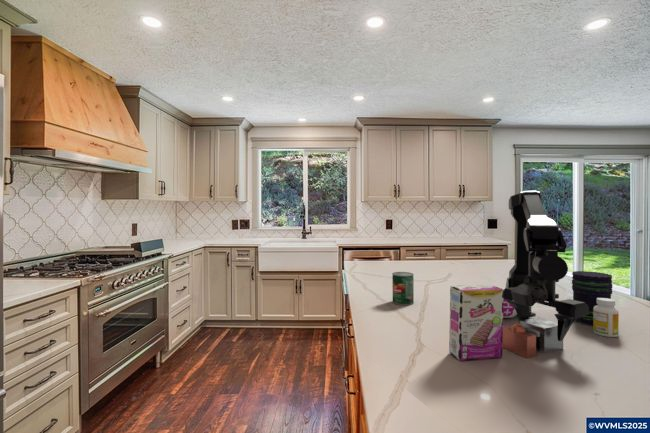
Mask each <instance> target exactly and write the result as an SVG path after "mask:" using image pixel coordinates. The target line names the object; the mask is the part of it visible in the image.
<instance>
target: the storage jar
mask: <svg viewBox="0 0 650 433" xmlns="http://www.w3.org/2000/svg"><path fill="white" fill-rule="evenodd" d="M571 274H572V278H571V290H572V300H576V301H580V302H585V303H586V304H587V306H588V307H589V315H585V316H582V317H580V318H577V319H576V320H575V321H574V323H579V324H581V325H586V326H591V327H593V308H594V306H596V305H598V304H597V298H608V299H612V295H613V280H612V279H613V275H612V274H609V273H605V272H604V273H603V272H596V271H585V270H578V271H577V270H576V271H572V273H571Z"/></svg>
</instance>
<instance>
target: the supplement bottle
mask: <svg viewBox="0 0 650 433" xmlns="http://www.w3.org/2000/svg"><path fill="white" fill-rule="evenodd" d="M597 304H598V305H596V306H594V308H593V326H592V327H593V329H592V330H593V333H595V334H597V335H599V336H602V337H609V338H616V337H619V318H620V317H619V314H620V313H619V310H618V308H617V307H615V306H616V300H615V299H613V298H611V299H608V298H597Z"/></svg>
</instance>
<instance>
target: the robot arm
mask: <svg viewBox="0 0 650 433" xmlns="http://www.w3.org/2000/svg"><path fill="white" fill-rule="evenodd" d="M542 198H543V197H542V195H541V192H540V191H537V190H523V191H520V192H519V193H516V194H514V195H511V196H510V197H509V199H508V210H510V215H511V217H512V218H513V219H514V221H515V236H514V237H515V238H514V239H515V243H514V265H513V266H512V267H511V269H510V270H509V271H508V277H507V278H506V283H505V288H504V297H503V299H506V300H507V303H510V304H511V305H512V306H513V307H514V308H515V310H516V312H517V318H518V320H519V322H520V321H521V320H526V319H529V317H531V316H536V315H537V313H536V312H532V307H533V306H535V304H539V305H543V306H547V307H551V308H554V309H555V311H556V312H557V313H554V316H555V319H557V320H556V321H557V323H558V328H557V336H558V341H562V340H563V341H564V339H565V336H566V335H567V334H568V331H569V330H570V328H571V327H572V325H573V324H574V323H575V320H576V319H577V318H580V317H582V316H585V315H589V307H588V306H587V304H586V303H585V302H580V301H576V300H573V298H572V299H571V298H568V299H562V300H558V299H559V297H560V295H559V293H556V283H559V282H560V280H562V279H563V278H565V277H566V275H567V274H568V272H569V266H568V264H567V262H566V261H565V259H563V258H562V257H561V256H559V255H558V254H559V253H566V249H567V243H566V239H565V236H564V233H563V232H562V229H561V228H560V227H559V226H558V224H557V222H556V220H554V219H552V218H550V217H548V216H547V213H546V212H545V208H544V206H543V200H542Z"/></svg>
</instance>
